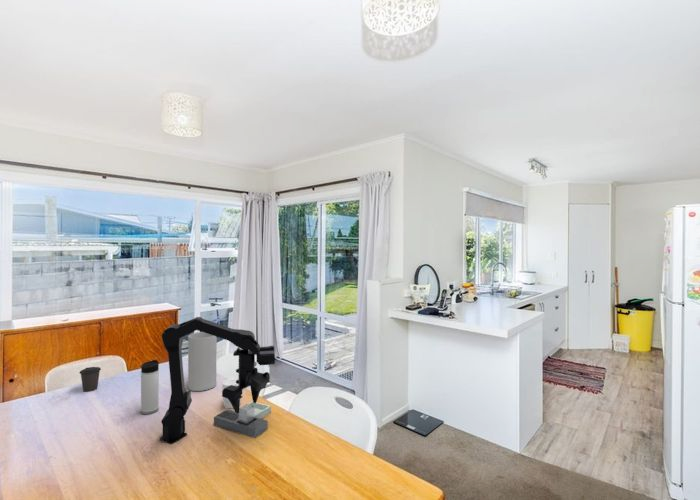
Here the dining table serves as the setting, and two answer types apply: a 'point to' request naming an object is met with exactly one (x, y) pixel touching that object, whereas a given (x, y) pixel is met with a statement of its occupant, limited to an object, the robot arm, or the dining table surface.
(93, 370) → the coffee cup
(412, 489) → the dining table surface
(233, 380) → the white cup
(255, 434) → the rail
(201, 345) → the cylinder vase
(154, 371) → the travel mug
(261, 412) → the parts tray
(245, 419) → the brushed aluminium bar
